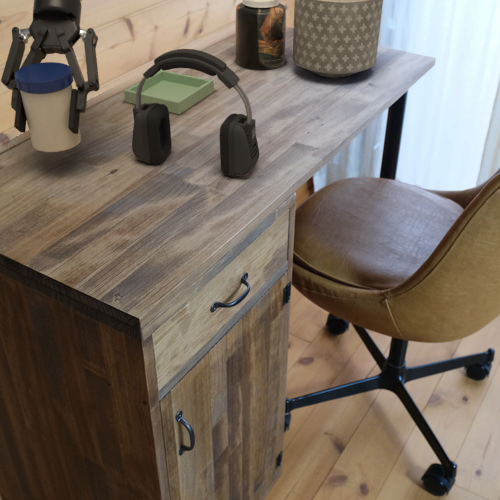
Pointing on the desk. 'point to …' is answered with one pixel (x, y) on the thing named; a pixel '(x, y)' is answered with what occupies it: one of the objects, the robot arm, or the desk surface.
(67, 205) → the desk surface
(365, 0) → the planter
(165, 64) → the headphones
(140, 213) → the desk surface
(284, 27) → the jar
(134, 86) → the tray
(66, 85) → the lid
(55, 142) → the cream jar
